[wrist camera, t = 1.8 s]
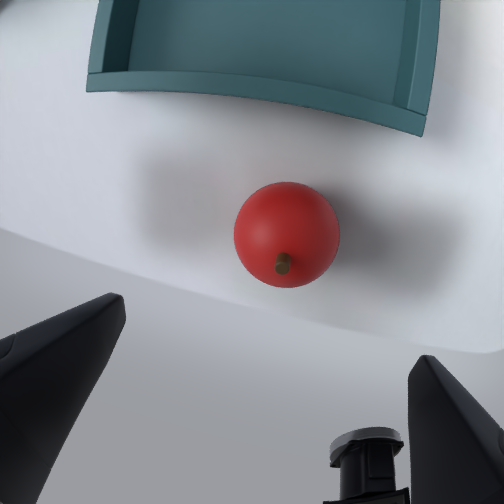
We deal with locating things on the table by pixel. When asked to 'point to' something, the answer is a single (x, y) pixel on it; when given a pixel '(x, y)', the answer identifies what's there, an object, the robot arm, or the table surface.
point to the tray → (275, 53)
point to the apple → (286, 234)
